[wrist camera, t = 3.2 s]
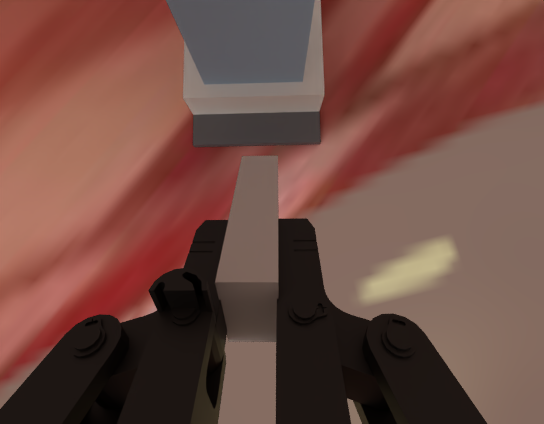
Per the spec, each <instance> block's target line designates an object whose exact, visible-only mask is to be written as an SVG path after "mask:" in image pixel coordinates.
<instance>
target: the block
mask: <svg viewBox="0 0 544 424" xmlns="http://www.w3.org/2000/svg"><path fill="white" fill-rule="evenodd" d="M166 2H167V4H168V6H169V8H170V10H171V13H172V15H173V17H174V19H175V21H176V24H177V26H178V28H179V30H180V32H181V35H182V37H183V39H184V41H185V43H186V45H187V48H188V50H189V52H190V54H191V56H192V59H193V61H194V63H195V65H196V67H197V70H198V72H199V74H200V76H201V78H202V81H203V83H204V85H206V84H242V83H278V82H303V76H304V70H305V63H306V56H307V50H308V43H309V36H310V29H311V23H312V16H313V9H314V2H315V0H166Z"/></svg>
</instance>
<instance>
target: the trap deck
mask: <svg viewBox="0 0 544 424" xmlns="http://www.w3.org/2000/svg"><path fill="white" fill-rule="evenodd" d="M324 95H325V94H324V70H323V46H322V22H321V0H315V2H314V9H313V16H312V23H311V29H310V36H309V43H308V50H307V56H306V63H305V70H304V76H303V82H278V83H242V84H206V85H204V83H203V81H202V78H201V76H200V74H199V72H198V70H197V67H196V65H195V63H194V61H193V59H192V56H191V54H190V52H189V50H188V48H187V45H186V43H185V41H184V79H183V99H184V101H185V102H186V104H187V105H188V107H189V108H190V110H191V112H192V113H193V146H194V147H221V146H264V145H307V144H320V142H321V140H320V114H319V111H320V108H321V104H322V101H323V98H324Z"/></svg>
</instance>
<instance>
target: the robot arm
mask: <svg viewBox="0 0 544 424" xmlns="http://www.w3.org/2000/svg"><path fill="white" fill-rule="evenodd" d="M149 293H150V295H151V297H152V299H153V301H154V304H155V306H156V308H157V311H155V312H154V313H151V314H149V315H146V316H143V317H139V318H136V319H133V320H129V321H126V322H122V323H120V322H119V320H118V319H117V318H115V317H113V316H111V315H96V316H93V317H89V318H87V319H85V320H83V321H82V322H80V323H78V324H76V325H75V326H74V327H73V328H72V329H71V330H70V331H69V332H67V333H66V334H65V335H64V337H63V338H62V339H61V340H60V341H59V342H58V343H57V345H56V346H55V347H54V348H53V349H52V350H51V352H50V353H49V354H48V355H47V356H46V357H45V358H44V360H43V361H42V362H41V363H40V364H39V365H38V366H37V368H36V369H35V370H34V371H33V372H32V373H31V374H30V376H29V377H28V378H27V379H26V380H25V381H24V383H23V384H22V385H21V386H20V387H19V388H18V389H17V391H16V392H15V393H14V394H13V395H12V396H11V397H10V399H9V400H8V401H7V402H6V403H5V404H4V406H3V407H2V408H1V409H0V424H218V417H219V410H220V403H221V395H222V388H223V381H224V374H225V366H226V355H225V351H224V348H225V342H226V335H227V338H228V341H229V342H276V424H351V421H350V415H349V409H348V403H347V398H348V399H351V400H353V402H354V404H355V407H356V409H357V412H358V414H359V417H360V419H361V422H362V424H487V423H486V421H485V420H484V418H483V417H482V415H481V414H480V413H479V411H478V410H477V408H476V407H475V405H474V404H473V402H472V401H471V400H470V398H469V397H468V395H467V394H466V392H465V391H464V389H463V388H462V386H461V385H460V384H459V382H458V381H457V379H456V378H455V376H454V375H453V373H452V372H451V371H450V369H449V368H448V366H447V365H446V363H445V362H444V360H443V359H442V358H441V356H440V355H439V353H438V352H437V350H436V349H435V347H434V346H433V345H432V343H431V342H430V340H429V339H428V337H427V336H426V334H425V333H424V332H423V331H422V330H421V329H420V328H419V327H418V326H417V325H416V324H415V323H414V322H412V321H410V320H409V319H407V318H405V317H403V316H399V315H396V314H381V315H379V316H377V317H375V318H373V320H372V321H369V320H366V319H363V318H360V317H356V316H353V315H350V314H348V313H345V312H343V311H341V310H340V309H338V308H337V307H335V306H334V305H333V304H332V303H331V302H330V300H329V299H328V297H327V295H326V293H325V290H324V285H323V278H322V272H321V266H320V260H319V253H318V247H317V242H316V234H315V228H314V227H313V226H312V224H311V223H310V222H309V221H308V219H278V156H242V159H241V164H240V168H239V173H238V178H237V182H236V187H235V192H234V196H233V201H232V206H231V210H230V215H229V220H206V221H205V222H204V223H203V224H202V225H201V226H200V227H199V228H198V229H197V230H196V233H195V236H194V239H193V244H192V245H191V248H190V251H189V254H188V256H187V259H186V262H185V265H184V268H181V269H174V270H172V271H170V272H167V273H165V274H163V275H162V276H161V277H160V278H158V279H157V280H156V281H155V282H154V283H153V285H152V286H151V288H150V289H149Z"/></svg>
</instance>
